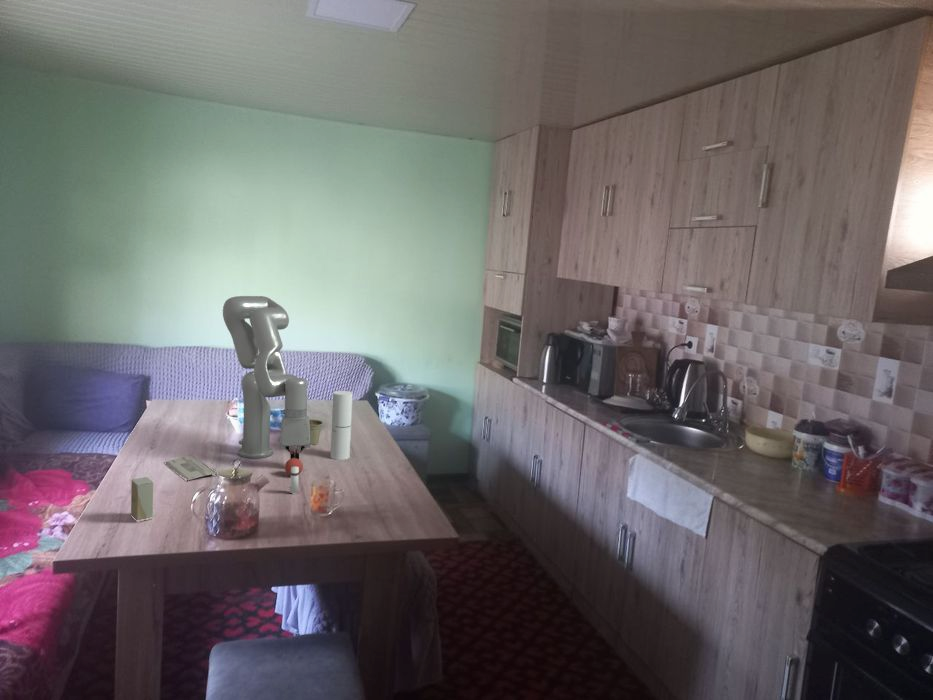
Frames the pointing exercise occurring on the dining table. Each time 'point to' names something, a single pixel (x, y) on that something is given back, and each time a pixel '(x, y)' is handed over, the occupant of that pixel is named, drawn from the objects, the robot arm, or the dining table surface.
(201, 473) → the newspaper
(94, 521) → the dining table surface
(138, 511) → the box
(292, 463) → the ball
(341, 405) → the cylindrical container
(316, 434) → the flower pot
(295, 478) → the white pin
